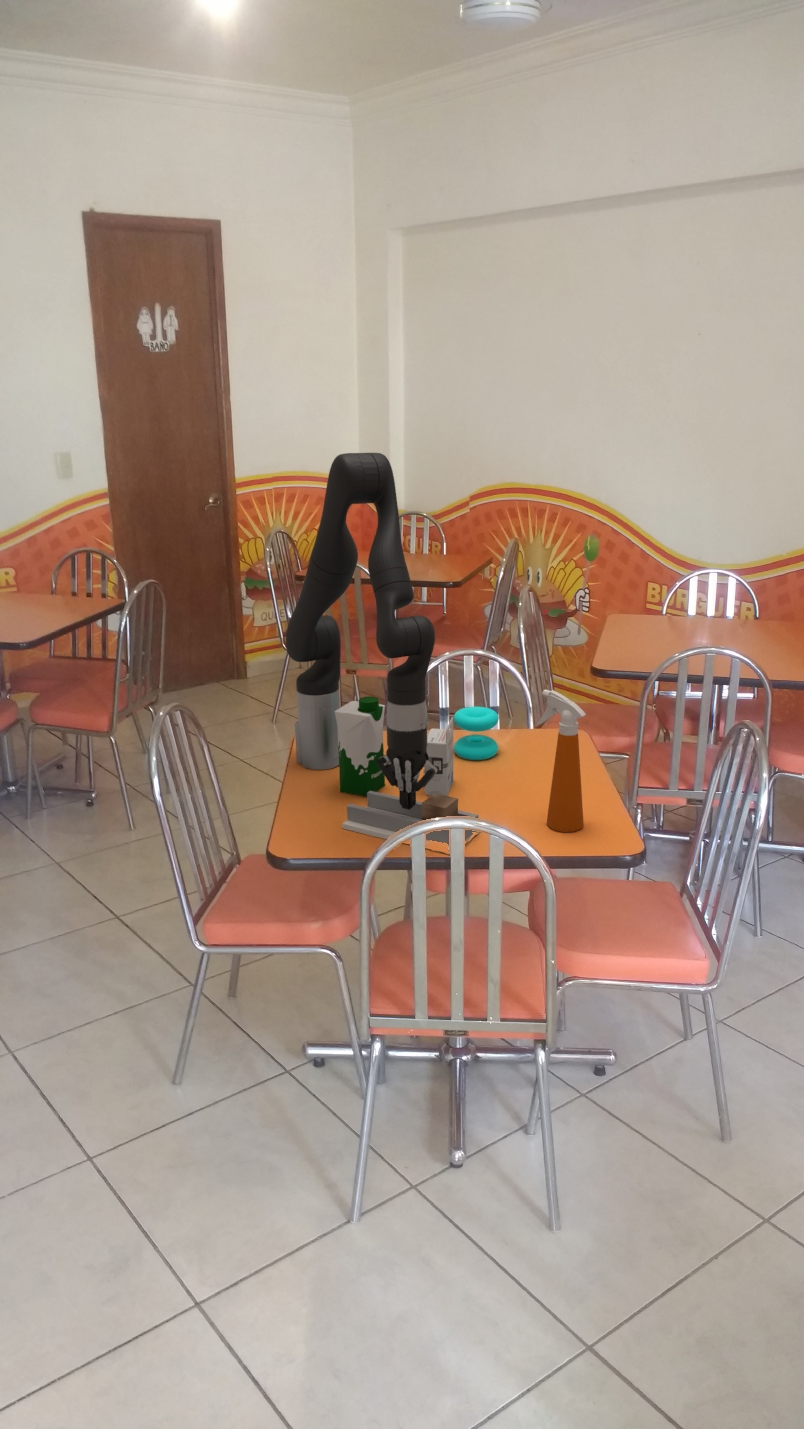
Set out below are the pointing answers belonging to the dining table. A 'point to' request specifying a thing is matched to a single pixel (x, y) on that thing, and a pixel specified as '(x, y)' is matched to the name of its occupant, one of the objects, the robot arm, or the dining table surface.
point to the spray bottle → (565, 765)
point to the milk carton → (360, 746)
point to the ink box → (440, 759)
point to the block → (439, 806)
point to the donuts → (476, 721)
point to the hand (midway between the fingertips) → (408, 807)
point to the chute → (391, 818)
